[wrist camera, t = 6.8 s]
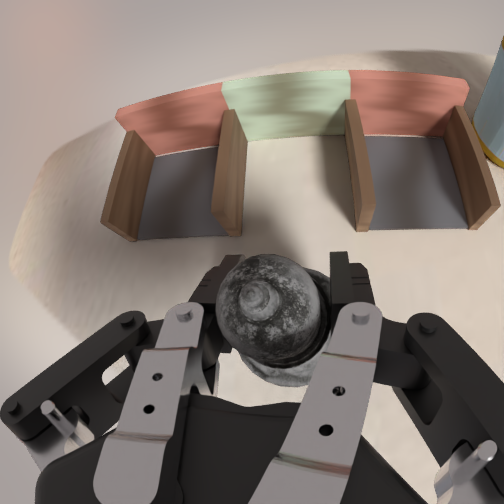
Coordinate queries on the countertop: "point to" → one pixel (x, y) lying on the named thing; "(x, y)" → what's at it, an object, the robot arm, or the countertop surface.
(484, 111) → the bottle
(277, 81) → the bay rack
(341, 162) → the countertop surface
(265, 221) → the countertop surface
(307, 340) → the grey chess piece
